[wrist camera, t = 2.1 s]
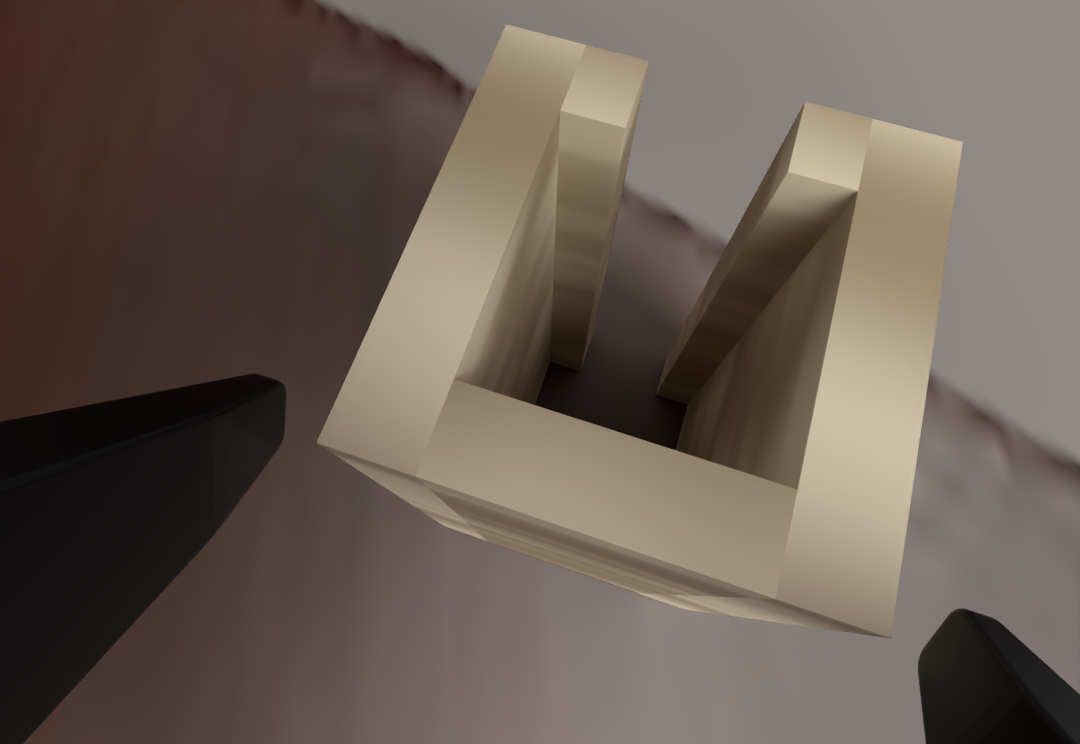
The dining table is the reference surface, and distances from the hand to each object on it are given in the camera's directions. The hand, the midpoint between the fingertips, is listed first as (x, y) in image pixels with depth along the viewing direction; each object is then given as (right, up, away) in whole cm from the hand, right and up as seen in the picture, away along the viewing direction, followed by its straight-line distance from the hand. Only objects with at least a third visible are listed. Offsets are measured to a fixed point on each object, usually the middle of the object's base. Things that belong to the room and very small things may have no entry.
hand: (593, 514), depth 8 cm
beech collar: (+1, 0, +11) cm, 11 cm away
